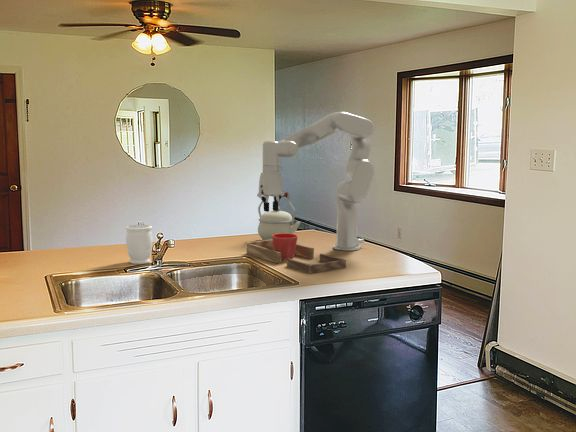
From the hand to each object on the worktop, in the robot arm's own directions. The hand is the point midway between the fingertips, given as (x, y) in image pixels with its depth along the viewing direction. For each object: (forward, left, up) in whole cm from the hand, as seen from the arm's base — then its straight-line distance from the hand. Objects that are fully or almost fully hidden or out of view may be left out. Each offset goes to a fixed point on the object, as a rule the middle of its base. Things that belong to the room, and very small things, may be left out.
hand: (270, 210), depth 262 cm
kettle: (-20, -21, -20) cm, 35 cm away
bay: (0, +32, -19) cm, 37 cm away
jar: (+55, -15, -20) cm, 60 cm away
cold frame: (0, +7, -19) cm, 20 cm away
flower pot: (0, +11, -20) cm, 22 cm away
